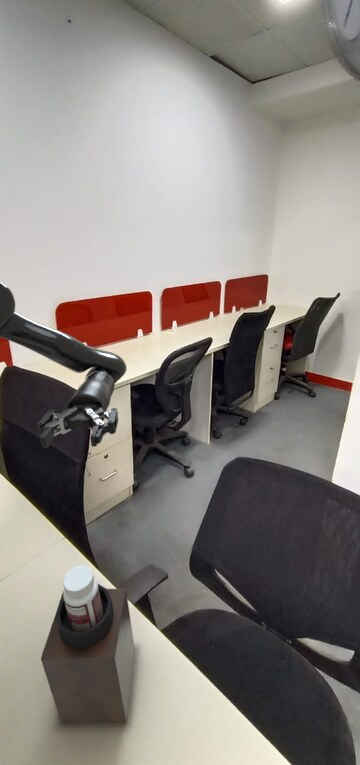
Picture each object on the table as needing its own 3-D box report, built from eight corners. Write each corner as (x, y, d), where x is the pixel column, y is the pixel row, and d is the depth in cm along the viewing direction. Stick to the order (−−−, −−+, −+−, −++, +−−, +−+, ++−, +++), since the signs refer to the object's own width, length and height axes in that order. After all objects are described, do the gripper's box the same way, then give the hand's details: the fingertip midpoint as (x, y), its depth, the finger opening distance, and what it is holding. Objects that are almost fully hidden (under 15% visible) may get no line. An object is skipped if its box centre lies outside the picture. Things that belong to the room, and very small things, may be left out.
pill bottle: (92, 595, 55) (84, 556, 52) (109, 617, 52) (102, 576, 49) (64, 618, 52) (53, 577, 49) (80, 642, 49) (70, 600, 46)
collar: (51, 649, 49) (47, 636, 48) (68, 595, 56) (65, 582, 55) (108, 648, 48) (105, 635, 47) (117, 594, 56) (115, 581, 55)
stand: (60, 723, 54) (40, 658, 48) (78, 651, 63) (63, 589, 57) (126, 722, 54) (114, 657, 47) (135, 650, 63) (125, 588, 57)
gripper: (55, 386, 75) (23, 425, 60) (122, 384, 75) (107, 422, 60) (61, 417, 78) (32, 462, 63) (125, 415, 78) (112, 459, 63)
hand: (68, 442), depth 61 cm, fingers open, 8 cm apart
